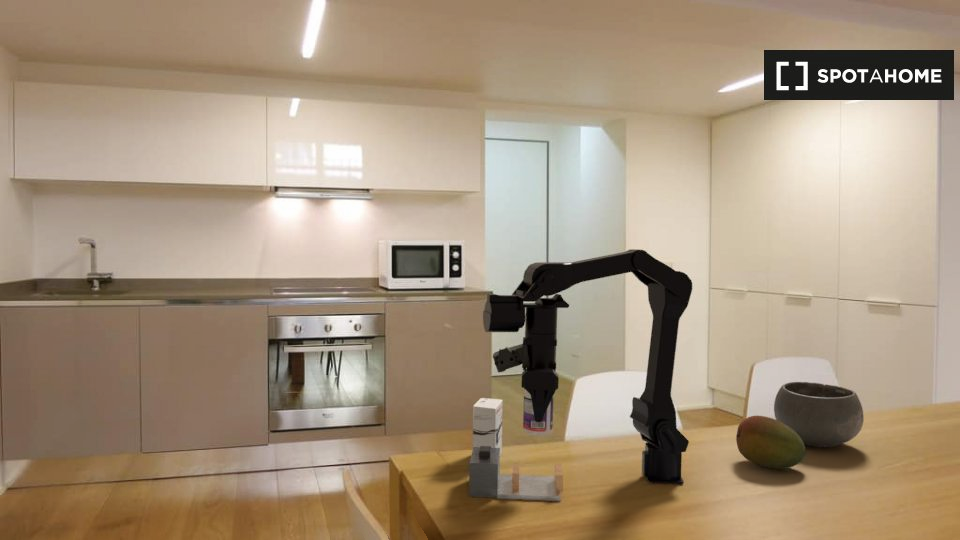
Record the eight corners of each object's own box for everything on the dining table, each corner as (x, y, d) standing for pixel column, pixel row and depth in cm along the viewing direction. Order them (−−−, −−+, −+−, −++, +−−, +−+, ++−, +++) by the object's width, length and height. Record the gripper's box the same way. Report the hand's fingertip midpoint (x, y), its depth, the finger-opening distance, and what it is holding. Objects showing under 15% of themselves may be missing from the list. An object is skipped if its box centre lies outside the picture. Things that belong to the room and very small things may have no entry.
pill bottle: (536, 425, 123) (538, 374, 123) (558, 432, 119) (560, 379, 119) (516, 430, 120) (518, 377, 119) (538, 437, 116) (540, 382, 115)
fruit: (731, 454, 140) (732, 408, 139) (795, 459, 137) (796, 411, 137) (741, 473, 128) (743, 423, 128) (811, 478, 126) (812, 427, 125)
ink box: (495, 466, 131) (496, 408, 131) (471, 464, 132) (471, 406, 132) (502, 453, 140) (503, 398, 139) (479, 451, 141) (480, 397, 140)
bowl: (864, 440, 150) (866, 386, 150) (860, 462, 135) (862, 401, 135) (779, 428, 160) (781, 376, 159) (767, 447, 145) (768, 390, 144)
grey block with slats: (560, 480, 124) (560, 442, 124) (563, 501, 114) (563, 460, 114) (473, 477, 125) (473, 440, 125) (468, 497, 115) (469, 457, 115)
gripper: (499, 324, 129) (496, 403, 129) (493, 337, 110) (490, 429, 111) (556, 326, 128) (553, 406, 128) (560, 340, 109) (556, 433, 110)
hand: (538, 417), depth 119 cm, fingers closed on pill bottle, 5 cm apart
